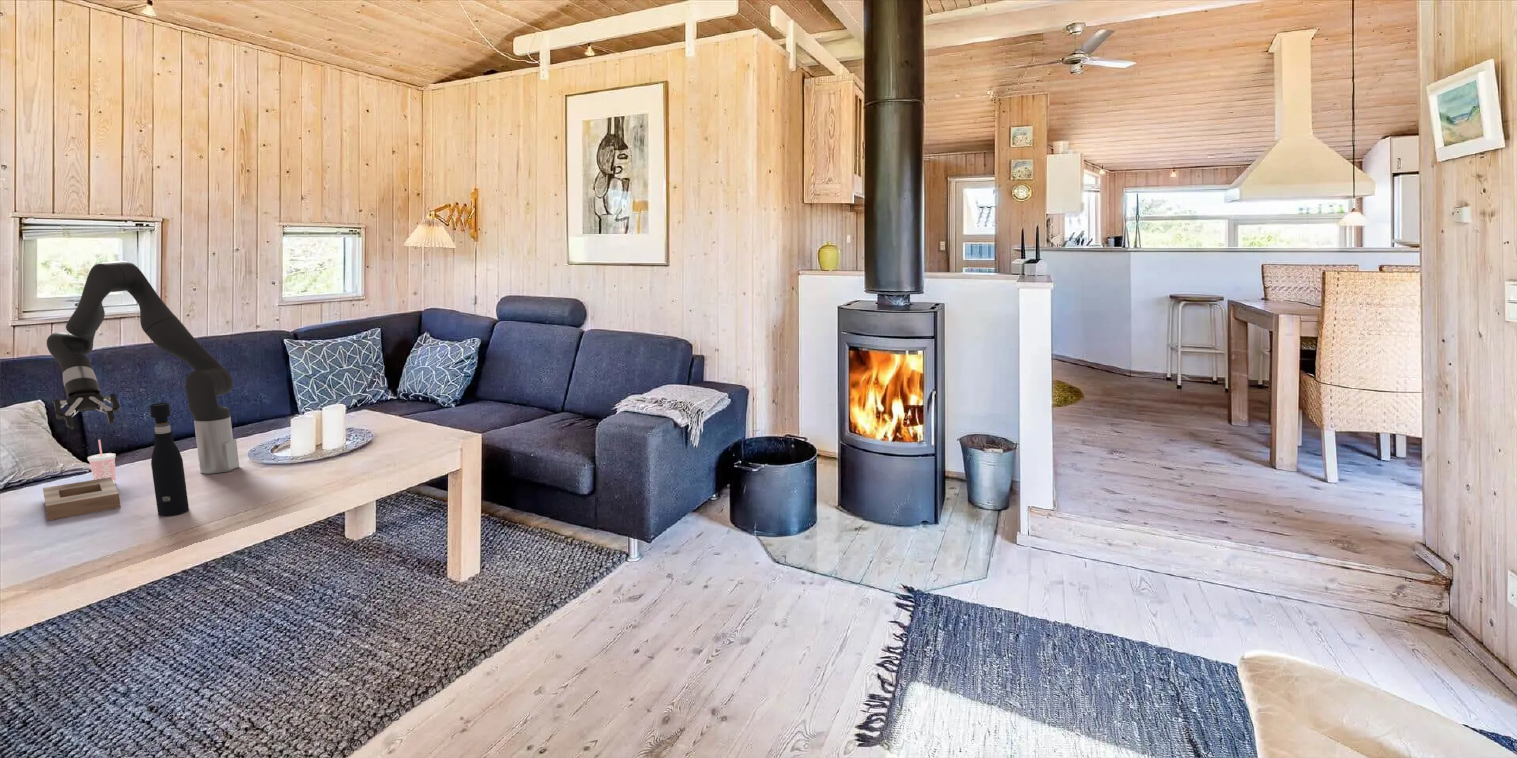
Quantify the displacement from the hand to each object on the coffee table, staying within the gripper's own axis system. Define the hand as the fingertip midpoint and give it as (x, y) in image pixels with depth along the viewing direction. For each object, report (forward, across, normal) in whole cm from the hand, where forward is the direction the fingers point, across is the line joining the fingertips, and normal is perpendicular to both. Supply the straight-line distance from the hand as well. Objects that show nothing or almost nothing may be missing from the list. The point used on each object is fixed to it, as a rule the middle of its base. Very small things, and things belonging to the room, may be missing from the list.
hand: (92, 425), depth 210 cm
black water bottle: (+50, +8, -26) cm, 57 cm away
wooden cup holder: (+32, -7, -8) cm, 34 cm away
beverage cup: (+20, 0, +4) cm, 20 cm away
